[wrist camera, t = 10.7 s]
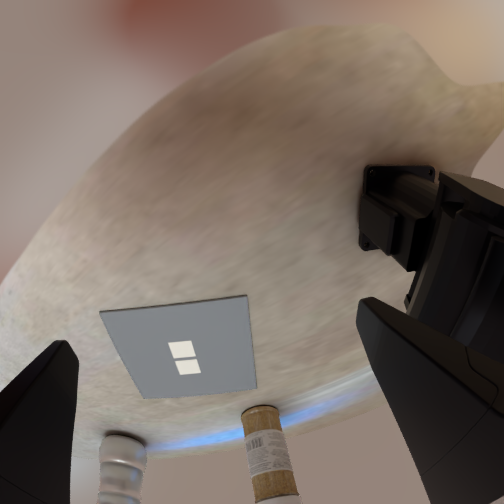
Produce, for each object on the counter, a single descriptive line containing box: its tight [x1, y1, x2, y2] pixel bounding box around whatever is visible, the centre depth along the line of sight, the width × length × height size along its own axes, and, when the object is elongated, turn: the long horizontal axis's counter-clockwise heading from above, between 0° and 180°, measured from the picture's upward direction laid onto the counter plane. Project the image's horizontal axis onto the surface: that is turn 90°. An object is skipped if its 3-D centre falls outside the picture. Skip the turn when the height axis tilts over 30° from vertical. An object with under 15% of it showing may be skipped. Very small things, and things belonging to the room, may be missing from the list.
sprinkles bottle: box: [241, 406, 302, 504], centre depth 25 cm, size 5×5×14 cm
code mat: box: [99, 295, 257, 399], centre depth 24 cm, size 12×12×1 cm
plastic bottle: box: [97, 435, 147, 504], centre depth 23 cm, size 6×7×20 cm
